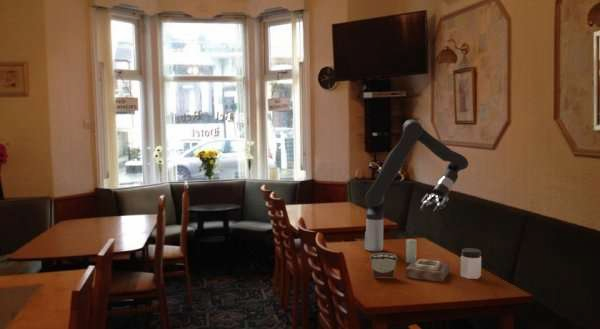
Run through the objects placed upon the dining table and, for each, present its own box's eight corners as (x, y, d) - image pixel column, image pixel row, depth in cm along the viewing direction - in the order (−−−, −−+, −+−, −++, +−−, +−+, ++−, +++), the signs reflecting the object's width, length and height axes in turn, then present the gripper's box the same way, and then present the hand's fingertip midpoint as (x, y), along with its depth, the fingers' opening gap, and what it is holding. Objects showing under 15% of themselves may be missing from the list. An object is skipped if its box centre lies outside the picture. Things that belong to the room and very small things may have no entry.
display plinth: (405, 277, 229) (406, 265, 228) (414, 268, 243) (414, 256, 243) (442, 282, 222) (442, 269, 221) (448, 272, 236) (448, 260, 236)
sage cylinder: (404, 262, 253) (405, 240, 252) (407, 260, 257) (407, 238, 256) (414, 263, 251) (415, 241, 250) (417, 261, 255) (417, 239, 254)
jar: (484, 277, 228) (485, 251, 227) (471, 280, 224) (471, 253, 223) (470, 272, 236) (470, 246, 235) (456, 274, 232) (457, 248, 231)
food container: (396, 274, 234) (396, 252, 233) (397, 278, 228) (397, 256, 227) (369, 273, 235) (369, 252, 234) (369, 277, 229) (369, 255, 228)
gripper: (429, 181, 268) (413, 205, 263) (451, 184, 256) (435, 208, 251) (436, 190, 271) (420, 214, 266) (457, 193, 260) (442, 218, 254)
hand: (427, 211), depth 258 cm, fingers open, 8 cm apart
